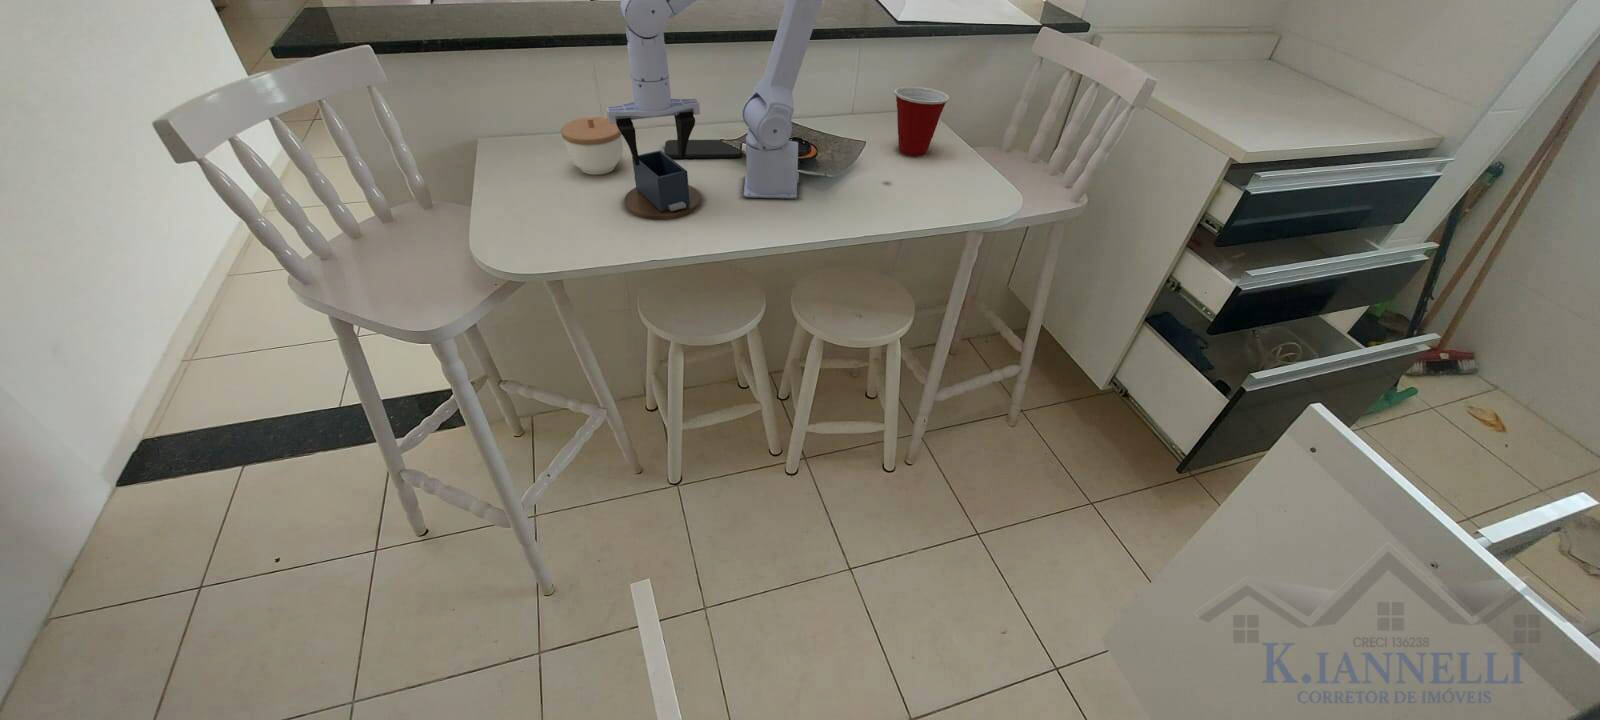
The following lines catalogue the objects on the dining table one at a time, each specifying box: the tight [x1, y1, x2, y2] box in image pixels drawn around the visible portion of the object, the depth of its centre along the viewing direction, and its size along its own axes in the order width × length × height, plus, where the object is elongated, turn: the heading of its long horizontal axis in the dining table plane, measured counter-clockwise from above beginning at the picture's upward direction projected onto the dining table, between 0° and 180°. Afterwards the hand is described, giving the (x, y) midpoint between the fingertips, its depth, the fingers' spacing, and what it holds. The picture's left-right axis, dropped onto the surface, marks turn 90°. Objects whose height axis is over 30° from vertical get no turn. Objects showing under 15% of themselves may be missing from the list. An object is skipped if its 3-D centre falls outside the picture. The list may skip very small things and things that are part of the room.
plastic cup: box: [894, 86, 950, 158], centre depth 133 cm, size 11×11×12 cm
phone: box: [664, 139, 742, 159], centre depth 133 cm, size 7×1×15 cm
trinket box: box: [560, 116, 624, 176], centre depth 123 cm, size 11×11×9 cm
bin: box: [631, 149, 690, 212], centre depth 113 cm, size 11×5×6 cm, turn 35°
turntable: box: [624, 184, 701, 220], centre depth 116 cm, size 13×13×1 cm
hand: (659, 160), depth 111 cm, fingers open, 7 cm apart
